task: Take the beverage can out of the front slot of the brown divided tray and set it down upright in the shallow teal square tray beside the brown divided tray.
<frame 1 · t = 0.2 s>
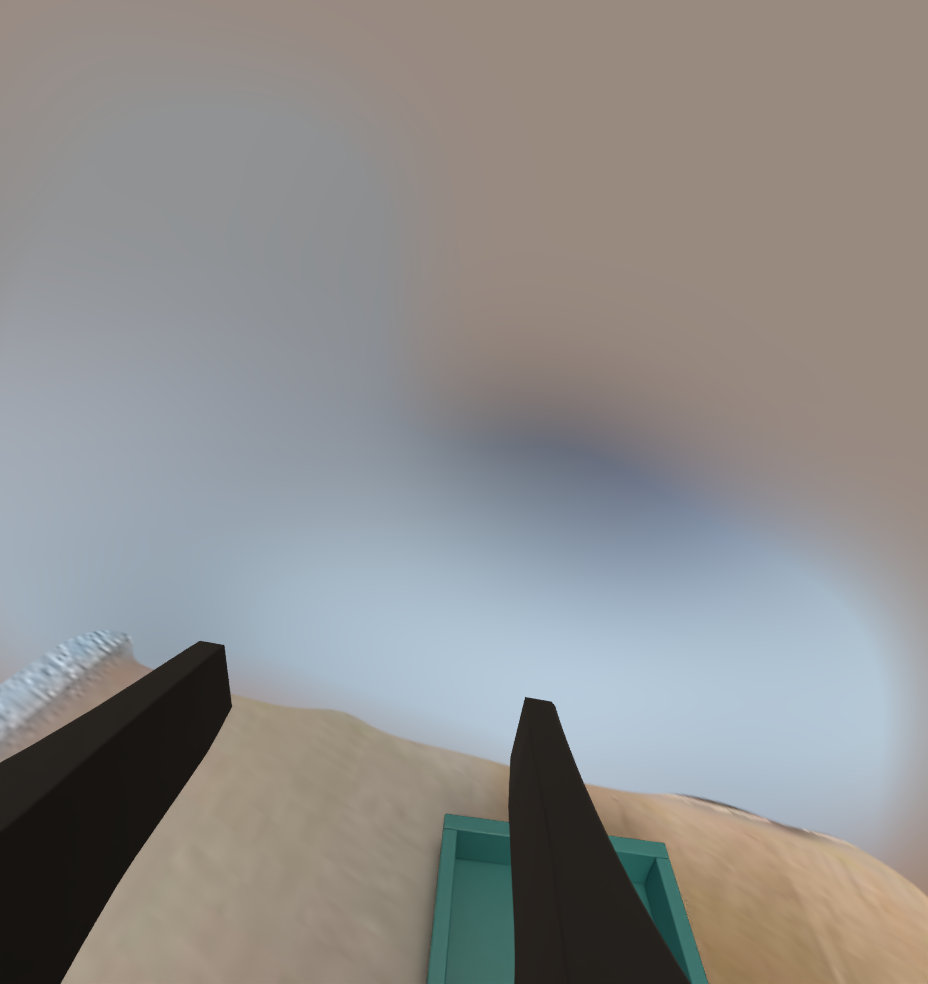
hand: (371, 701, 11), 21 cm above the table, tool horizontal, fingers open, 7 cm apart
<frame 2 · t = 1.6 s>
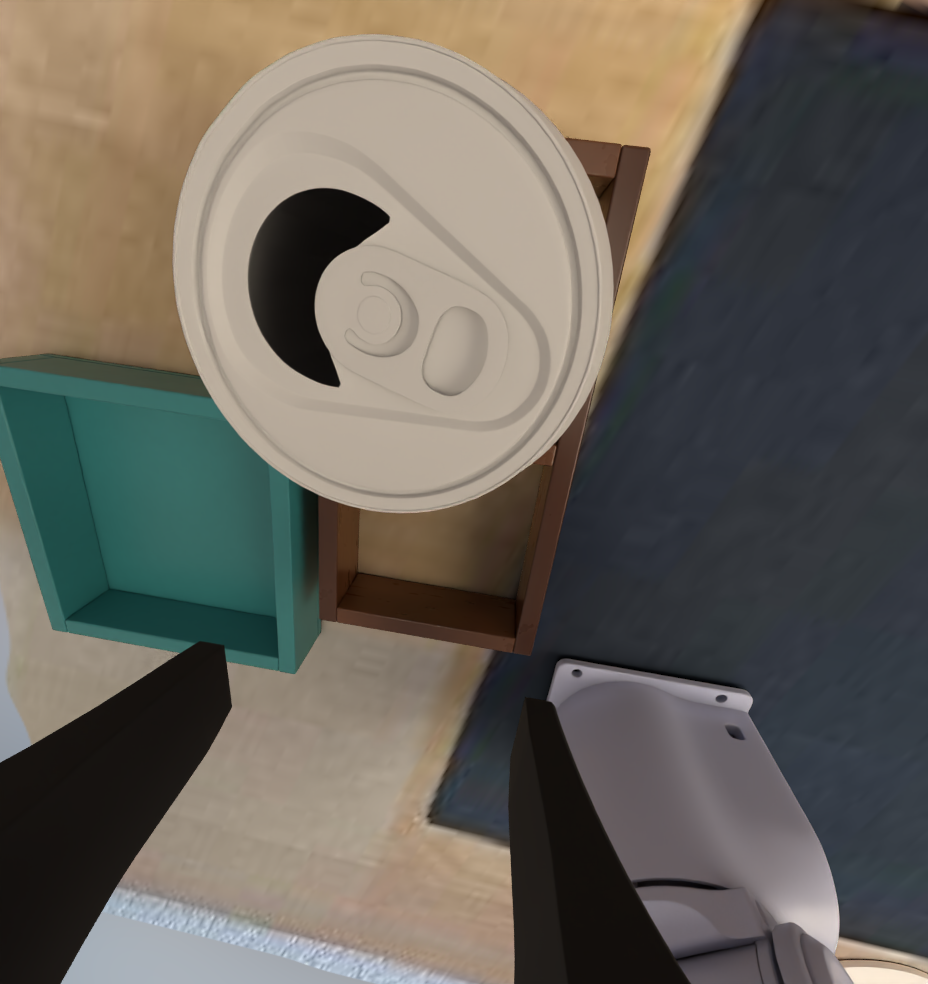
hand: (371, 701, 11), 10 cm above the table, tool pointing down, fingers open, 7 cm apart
teal square tray: (198, 506, 21), on the table
brown divided tray: (455, 421, 18), on the table
beverage can: (469, 309, 17), resting in brown divided tray
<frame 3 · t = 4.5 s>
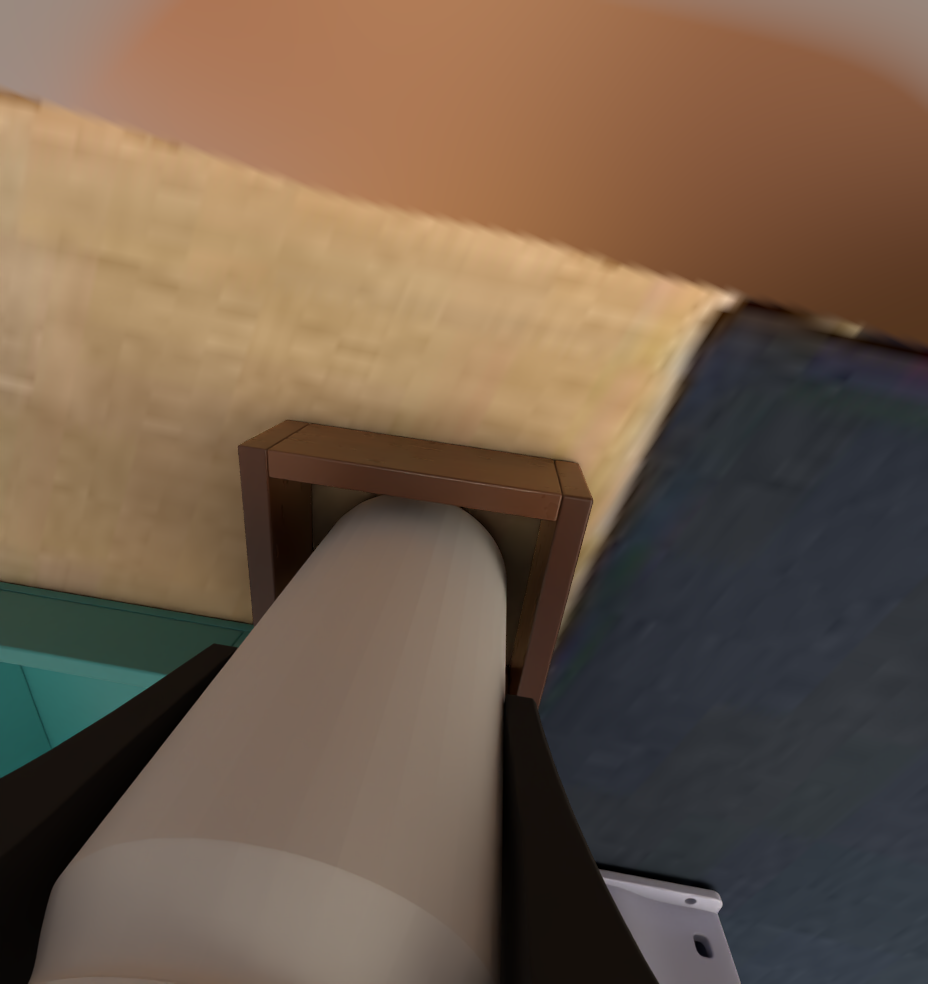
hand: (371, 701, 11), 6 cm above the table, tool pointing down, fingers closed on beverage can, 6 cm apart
teal square tray: (150, 712, 21), on the table
brown divided tray: (410, 656, 18), on the table
beverage can: (419, 562, 16), resting in brown divided tray, touching gripper
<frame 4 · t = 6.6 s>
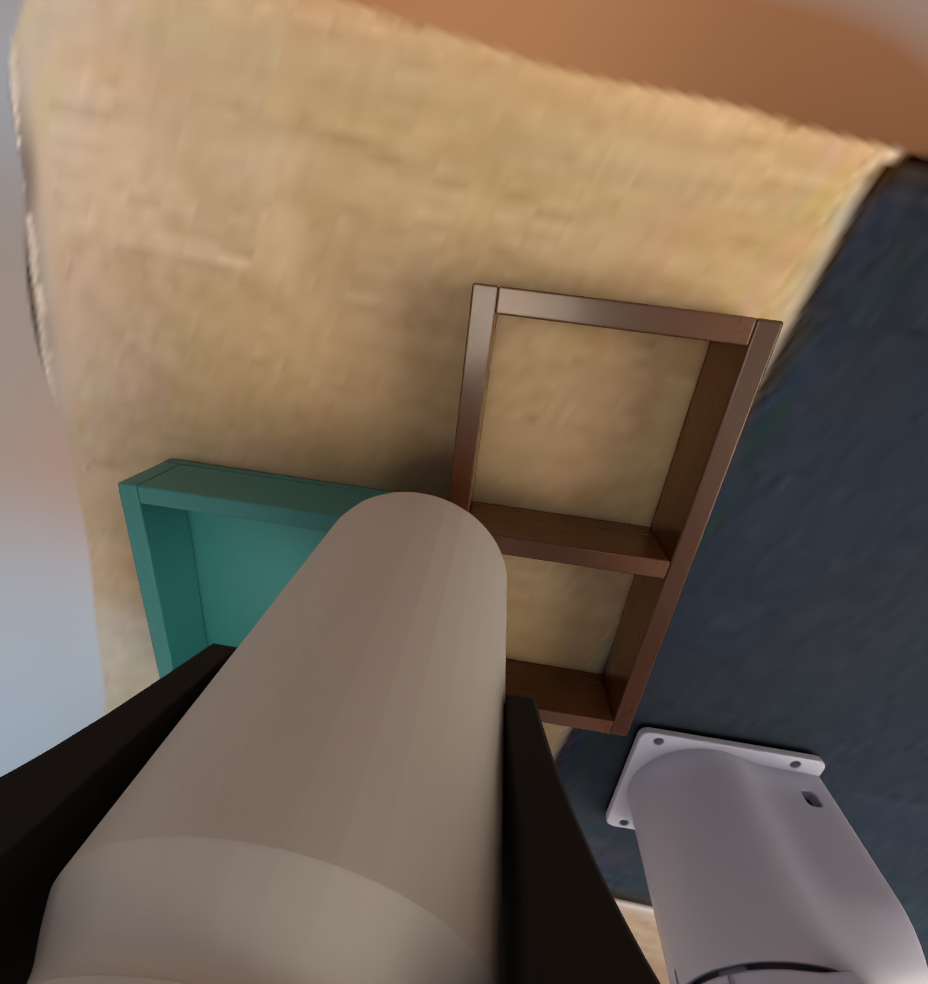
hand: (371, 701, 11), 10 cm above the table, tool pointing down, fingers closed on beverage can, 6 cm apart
teal square tray: (302, 591, 23), on the table
brown divided tray: (558, 521, 20), on the table
beverage can: (419, 562, 16), point 4 cm above the table, touching gripper
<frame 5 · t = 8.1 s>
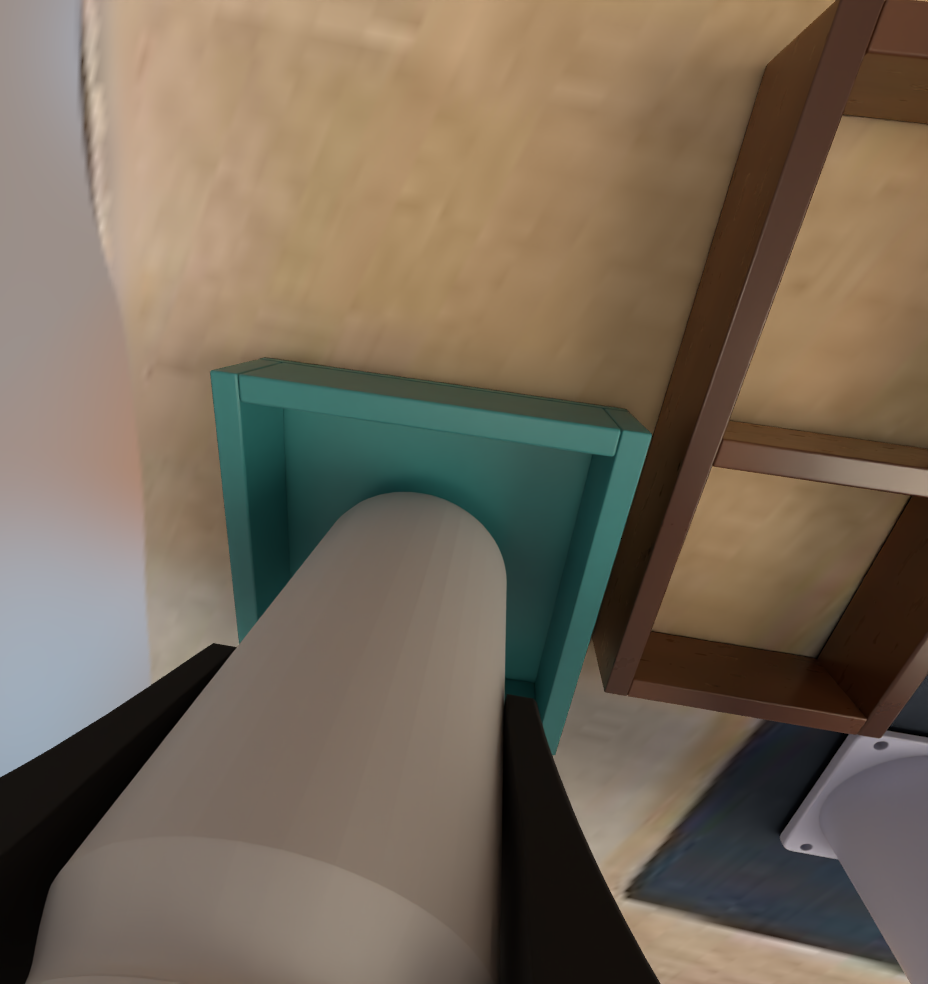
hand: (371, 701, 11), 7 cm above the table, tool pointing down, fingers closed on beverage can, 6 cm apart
teal square tray: (425, 546, 17), on the table
brown divided tray: (804, 443, 14), on the table
beverage can: (419, 562, 16), point 1 cm above the table, touching gripper
when the fingers open (6 cm above the table, at t = 9.0 s): beverage can stays where it is, resting on teal square tray.
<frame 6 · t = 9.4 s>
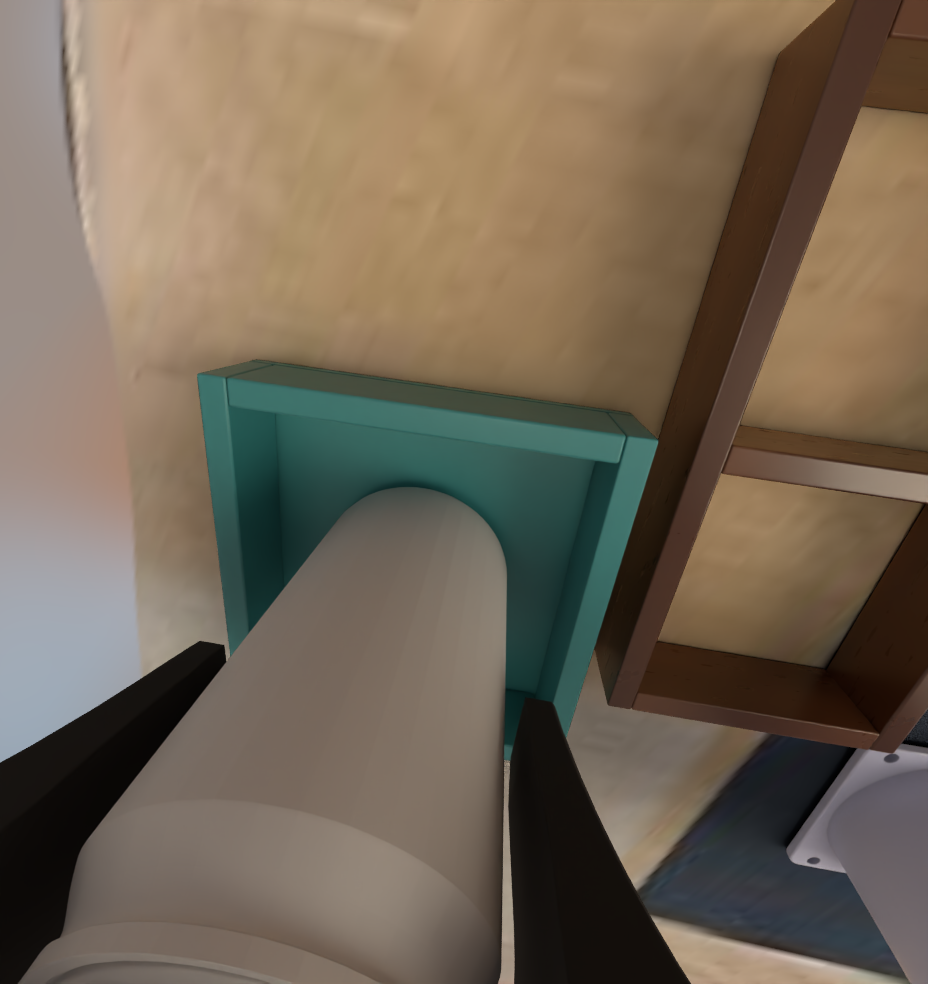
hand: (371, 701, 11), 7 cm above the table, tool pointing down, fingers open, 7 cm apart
teal square tray: (423, 554, 17), on the table
brown divided tray: (815, 449, 14), on the table
beverage can: (421, 556, 17), resting on teal square tray
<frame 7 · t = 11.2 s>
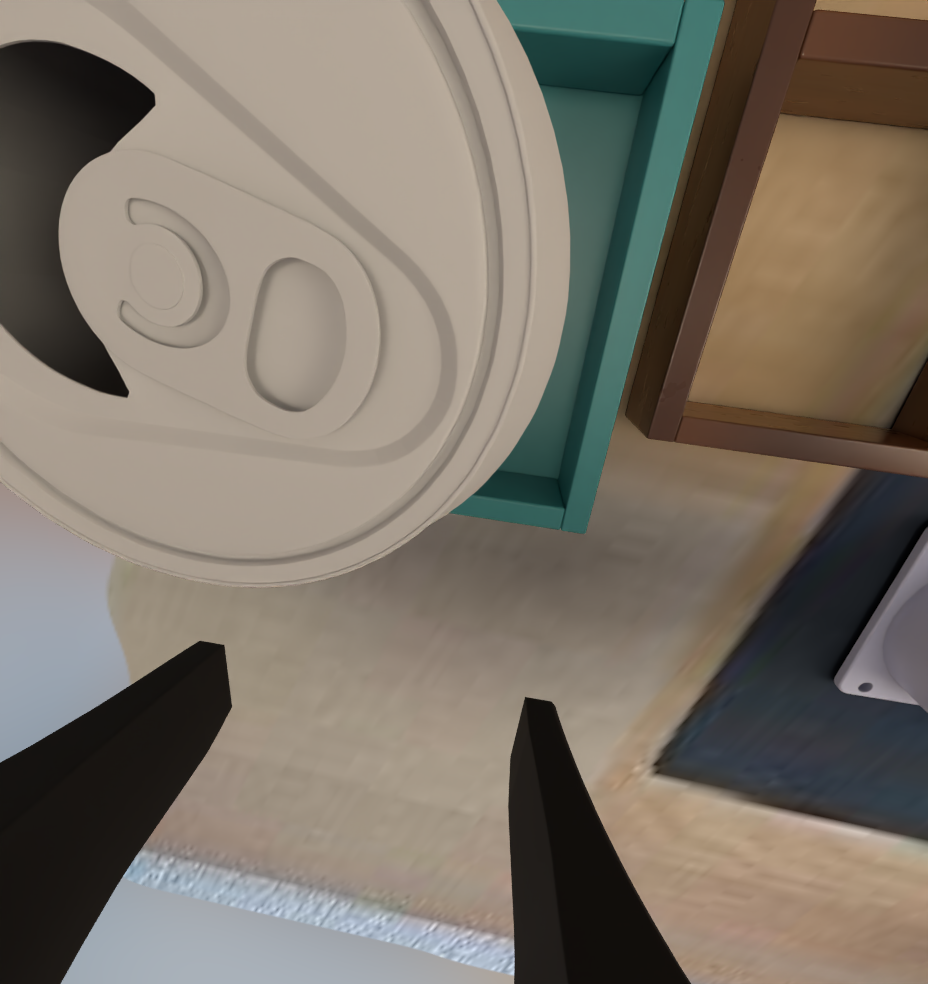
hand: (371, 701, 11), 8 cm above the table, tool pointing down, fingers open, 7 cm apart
teal square tray: (431, 296, 15), on the table
brown divided tray: (894, 106, 12), on the table
beverage can: (429, 295, 14), resting on teal square tray
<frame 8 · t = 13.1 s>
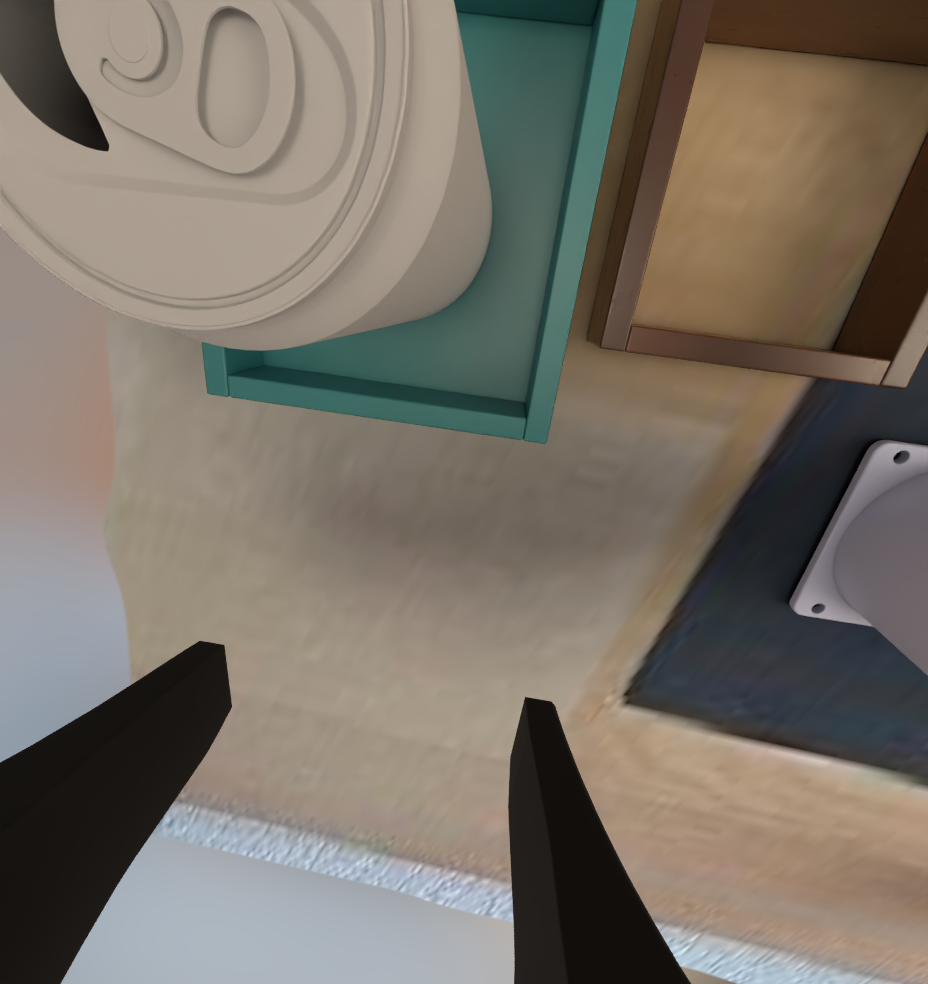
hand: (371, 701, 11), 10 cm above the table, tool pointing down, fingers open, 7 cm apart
teal square tray: (404, 224, 16), on the table
brown divided tray: (822, 36, 13), on the table
beverage can: (402, 222, 16), resting on teal square tray
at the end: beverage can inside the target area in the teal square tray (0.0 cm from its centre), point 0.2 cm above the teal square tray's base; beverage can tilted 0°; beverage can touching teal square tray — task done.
